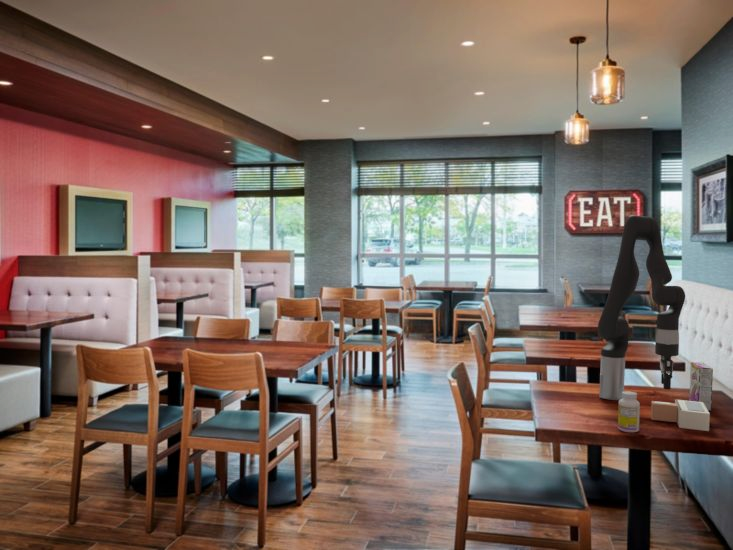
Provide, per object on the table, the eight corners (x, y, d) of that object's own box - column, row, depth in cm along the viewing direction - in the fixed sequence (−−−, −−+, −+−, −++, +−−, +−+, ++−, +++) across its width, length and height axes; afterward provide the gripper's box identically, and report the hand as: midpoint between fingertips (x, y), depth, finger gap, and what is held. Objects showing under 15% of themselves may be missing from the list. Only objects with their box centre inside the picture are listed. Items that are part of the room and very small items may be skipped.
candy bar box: (688, 402, 243) (690, 361, 242) (701, 403, 242) (703, 362, 241) (697, 409, 232) (699, 367, 231) (711, 410, 231) (713, 368, 230)
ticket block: (679, 427, 209) (680, 410, 209) (674, 415, 224) (675, 398, 224) (708, 431, 206) (709, 413, 206) (702, 418, 221) (702, 401, 221)
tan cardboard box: (651, 419, 218) (652, 403, 218) (650, 416, 222) (651, 400, 221) (676, 422, 215) (677, 405, 215) (675, 419, 219) (676, 402, 218)
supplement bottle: (624, 425, 211) (625, 389, 210) (642, 430, 206) (644, 393, 205) (613, 429, 207) (615, 392, 206) (632, 434, 201) (634, 396, 201)
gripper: (653, 338, 225) (652, 381, 226) (657, 343, 212) (655, 389, 212) (676, 339, 222) (675, 383, 223) (681, 345, 209) (679, 391, 210)
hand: (665, 386), depth 218 cm, fingers open, 8 cm apart
